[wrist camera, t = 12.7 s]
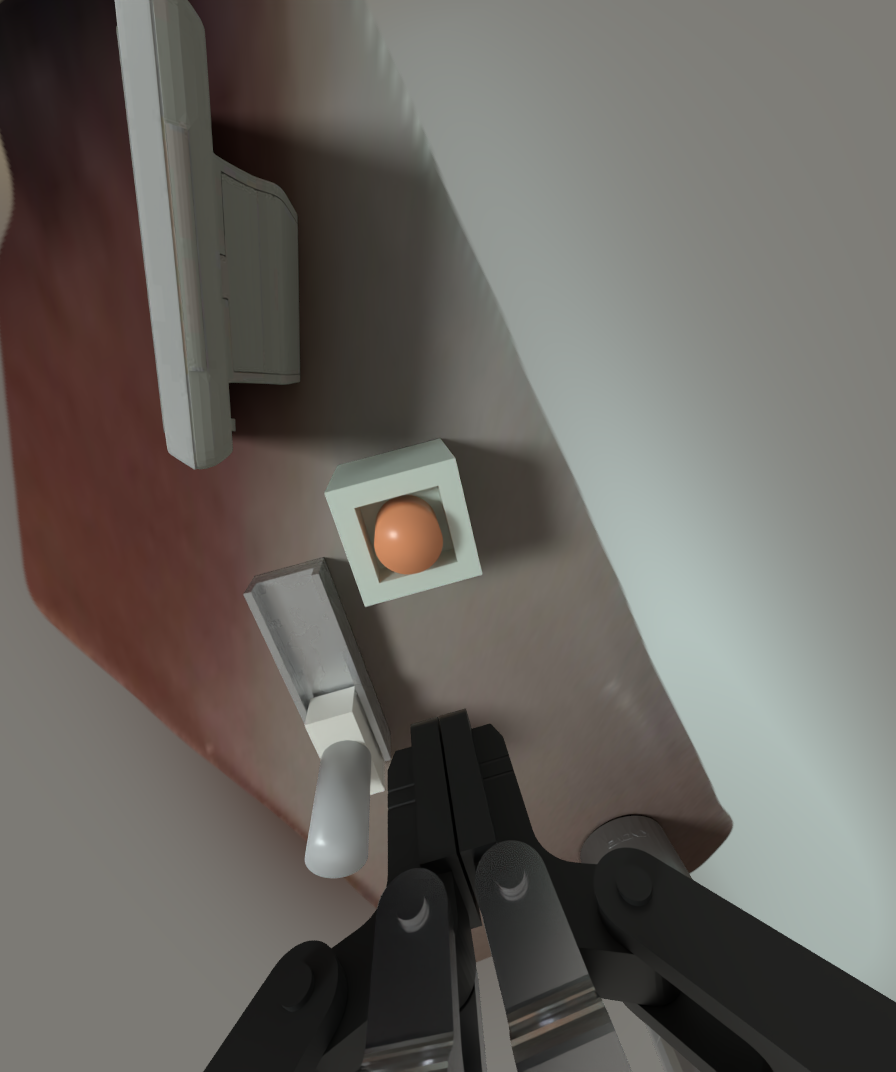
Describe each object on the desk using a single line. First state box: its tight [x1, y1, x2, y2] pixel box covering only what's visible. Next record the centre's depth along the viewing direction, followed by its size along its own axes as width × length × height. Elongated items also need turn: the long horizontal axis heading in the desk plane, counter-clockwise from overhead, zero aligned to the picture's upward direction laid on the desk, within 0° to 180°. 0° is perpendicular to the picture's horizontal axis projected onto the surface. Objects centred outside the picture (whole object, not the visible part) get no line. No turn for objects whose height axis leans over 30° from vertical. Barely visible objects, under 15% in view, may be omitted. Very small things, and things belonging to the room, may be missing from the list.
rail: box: [244, 557, 391, 761], centre depth 34 cm, size 17×5×3 cm, turn 14°
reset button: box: [374, 495, 443, 574], centre depth 25 cm, size 4×4×3 cm
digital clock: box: [115, 0, 300, 469], centre depth 21 cm, size 16×9×11 cm, turn 163°
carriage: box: [305, 686, 385, 878], centre depth 31 cm, size 8×4×10 cm, turn 14°
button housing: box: [324, 438, 482, 607], centre depth 28 cm, size 7×7×7 cm
